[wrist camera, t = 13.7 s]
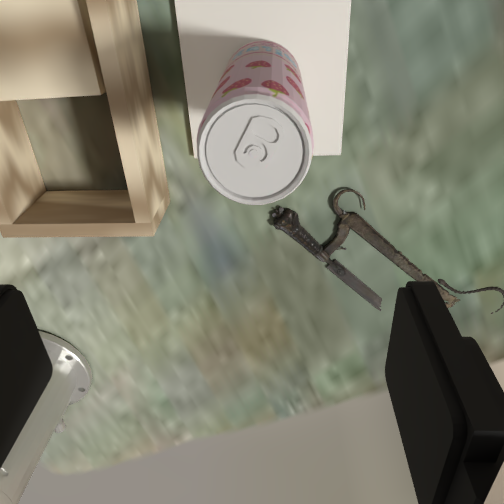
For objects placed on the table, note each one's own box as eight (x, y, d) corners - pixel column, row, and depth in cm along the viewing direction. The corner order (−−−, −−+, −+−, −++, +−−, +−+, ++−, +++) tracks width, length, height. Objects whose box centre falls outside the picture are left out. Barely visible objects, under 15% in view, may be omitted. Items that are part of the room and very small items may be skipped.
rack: (170, 201, 39) (153, 236, 34) (37, 203, 40) (3, 237, 35) (126, -62, 29) (92, -66, 24) (-52, -50, 30) (-120, -53, 25)
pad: (340, 152, 36) (340, 154, 35) (195, 155, 37) (194, 158, 36) (351, -20, 29) (352, -20, 29) (174, -11, 30) (173, -10, 30)
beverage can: (304, 40, 31) (323, 93, 18) (297, 120, 34) (309, 212, 22) (223, 37, 31) (188, 88, 19) (224, 118, 34) (195, 207, 22)
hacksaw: (265, 214, 40) (265, 222, 39) (353, 134, 35) (355, 140, 34) (425, 350, 48) (429, 360, 47) (513, 298, 43) (520, 308, 42)
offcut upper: (113, 86, 32) (101, 94, 30) (9, 92, 33) (-9, 101, 31) (90, -9, 29) (75, -7, 27) (-24, 0, 30) (-47, 3, 27)
